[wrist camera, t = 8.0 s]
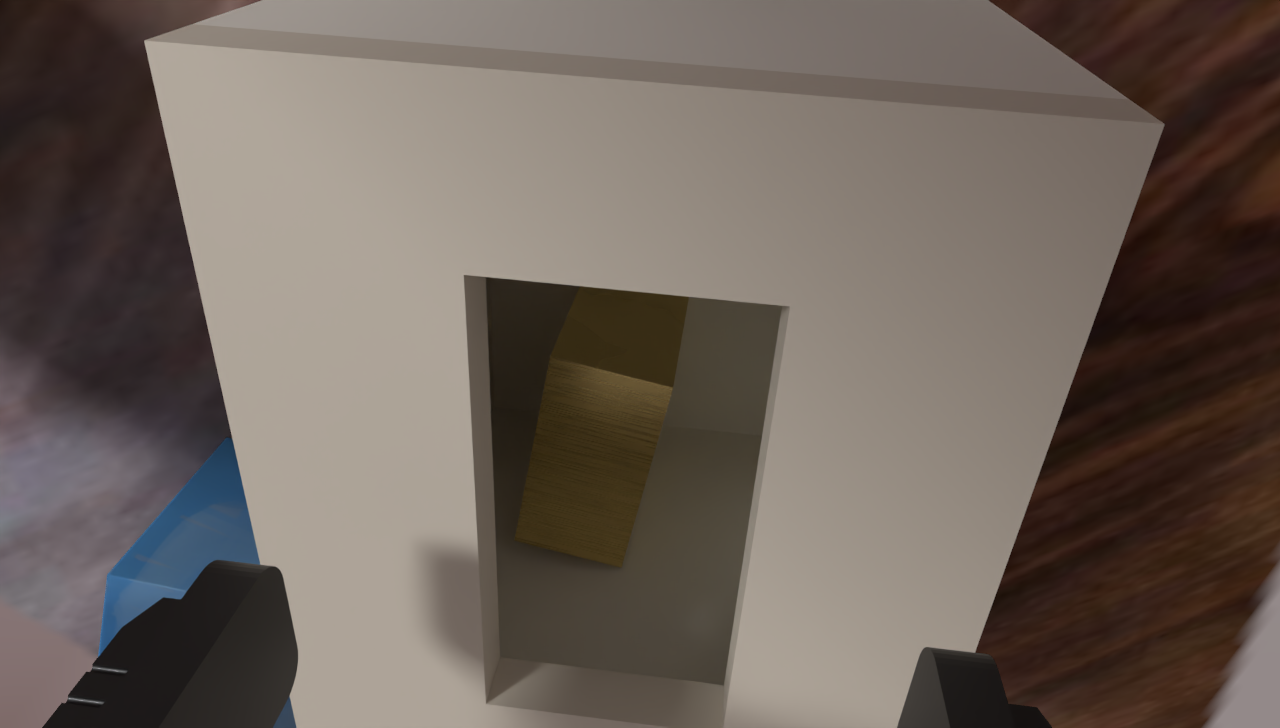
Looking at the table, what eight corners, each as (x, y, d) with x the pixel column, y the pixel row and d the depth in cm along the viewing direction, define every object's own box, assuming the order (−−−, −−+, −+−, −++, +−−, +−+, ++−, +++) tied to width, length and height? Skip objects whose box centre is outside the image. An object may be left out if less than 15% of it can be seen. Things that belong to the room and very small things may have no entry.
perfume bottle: (416, 476, 28) (228, 838, 18) (409, 611, 32) (245, 982, 21) (227, 436, 28) (-69, 776, 18) (238, 575, 32) (-7, 930, 21)
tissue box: (452, -65, 20) (143, 40, 10) (946, -29, 19) (1165, 123, 9) (476, 411, 27) (305, 768, 17) (844, 451, 26) (904, 849, 16)
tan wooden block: (550, 355, 18) (514, 540, 20) (673, 387, 18) (621, 567, 20) (599, 239, 23) (565, 398, 25) (695, 263, 23) (651, 420, 25)
